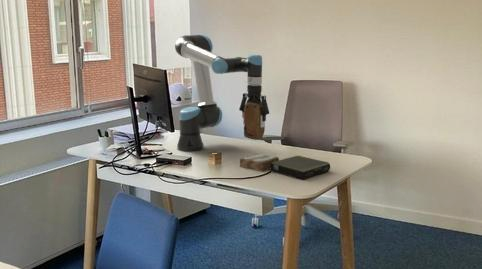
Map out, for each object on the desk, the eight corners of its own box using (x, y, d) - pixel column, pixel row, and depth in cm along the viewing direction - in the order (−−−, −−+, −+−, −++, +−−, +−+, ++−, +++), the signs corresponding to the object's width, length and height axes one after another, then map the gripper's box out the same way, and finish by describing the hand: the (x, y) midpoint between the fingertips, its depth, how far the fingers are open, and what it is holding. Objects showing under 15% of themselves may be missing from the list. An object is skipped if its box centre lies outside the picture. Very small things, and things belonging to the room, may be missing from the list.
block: (265, 138, 285) (266, 101, 280) (257, 141, 279) (258, 103, 274) (249, 135, 291) (250, 99, 287) (241, 138, 285) (241, 101, 281)
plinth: (240, 166, 268) (240, 158, 267) (256, 160, 278) (256, 152, 278) (262, 171, 259) (262, 162, 258) (278, 165, 270) (278, 157, 269)
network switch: (293, 163, 275) (294, 153, 274) (333, 171, 261) (333, 161, 259) (266, 173, 258) (267, 163, 256) (307, 182, 243) (308, 171, 242)
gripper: (232, 83, 283) (232, 123, 288) (268, 87, 268) (267, 129, 274) (241, 81, 288) (241, 121, 293) (276, 86, 274) (275, 127, 279)
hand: (253, 125), depth 283 cm, fingers closed on block, 11 cm apart
